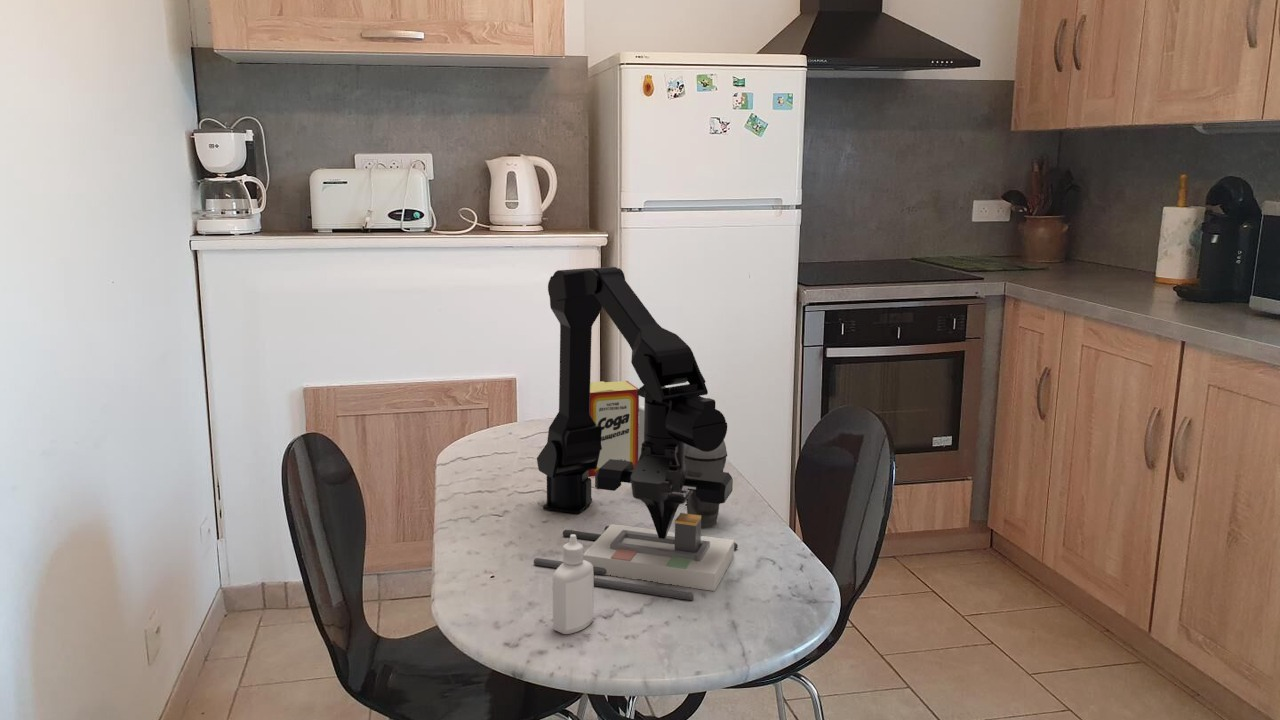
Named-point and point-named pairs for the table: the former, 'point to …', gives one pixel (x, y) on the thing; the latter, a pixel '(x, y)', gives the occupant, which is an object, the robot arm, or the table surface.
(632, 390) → the baking soda box
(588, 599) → the eye dropper bottle
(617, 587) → the rod
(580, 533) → the rod
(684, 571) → the breaker switch base
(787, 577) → the table surface
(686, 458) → the beverage cup
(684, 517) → the breaker toggle
